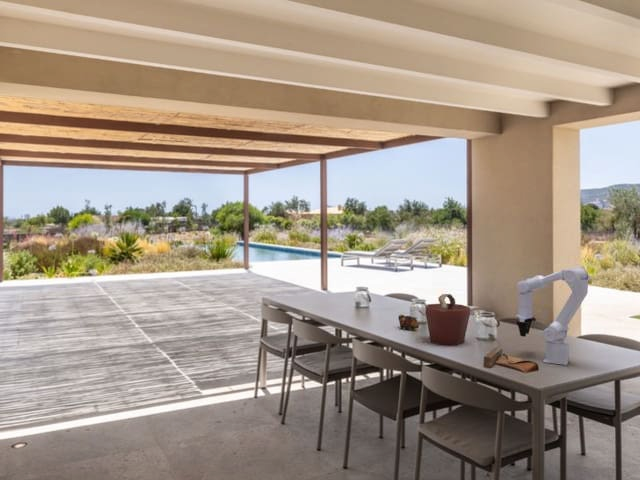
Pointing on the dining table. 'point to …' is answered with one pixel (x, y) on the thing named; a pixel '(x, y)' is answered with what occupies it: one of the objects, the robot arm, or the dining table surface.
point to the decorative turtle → (407, 322)
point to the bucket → (447, 321)
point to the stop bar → (492, 357)
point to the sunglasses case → (517, 364)
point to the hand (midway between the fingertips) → (524, 334)
